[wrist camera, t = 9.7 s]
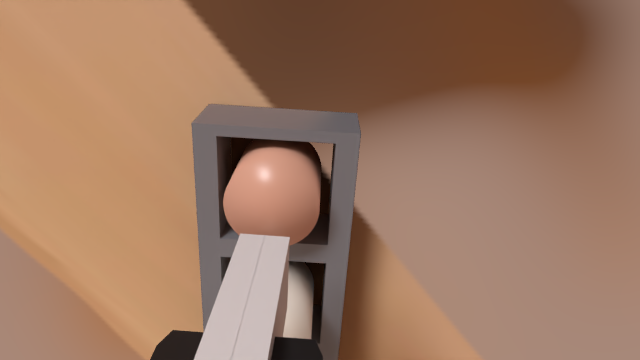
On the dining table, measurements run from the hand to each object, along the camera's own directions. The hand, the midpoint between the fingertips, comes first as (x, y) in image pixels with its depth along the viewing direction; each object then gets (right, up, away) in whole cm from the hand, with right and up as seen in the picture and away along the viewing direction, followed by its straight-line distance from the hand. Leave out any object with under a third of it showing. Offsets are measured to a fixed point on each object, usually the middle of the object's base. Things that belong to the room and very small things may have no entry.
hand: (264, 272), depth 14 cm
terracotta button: (0, +3, +8) cm, 9 cm away
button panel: (-1, -2, +11) cm, 11 cm away
